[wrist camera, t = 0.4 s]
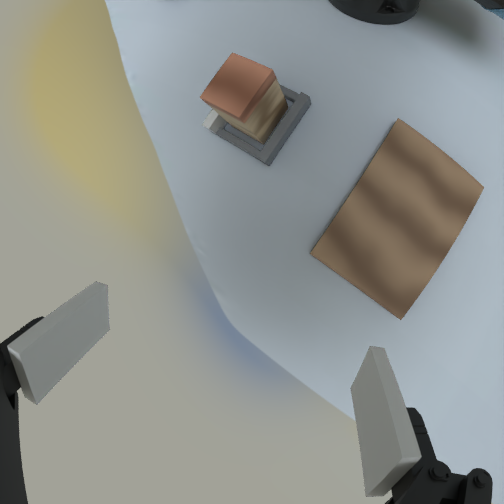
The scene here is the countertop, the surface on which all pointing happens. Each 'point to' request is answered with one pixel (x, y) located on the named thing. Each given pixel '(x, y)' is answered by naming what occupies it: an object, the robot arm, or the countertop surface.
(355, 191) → the walnut board
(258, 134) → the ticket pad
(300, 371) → the countertop surface
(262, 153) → the frame
